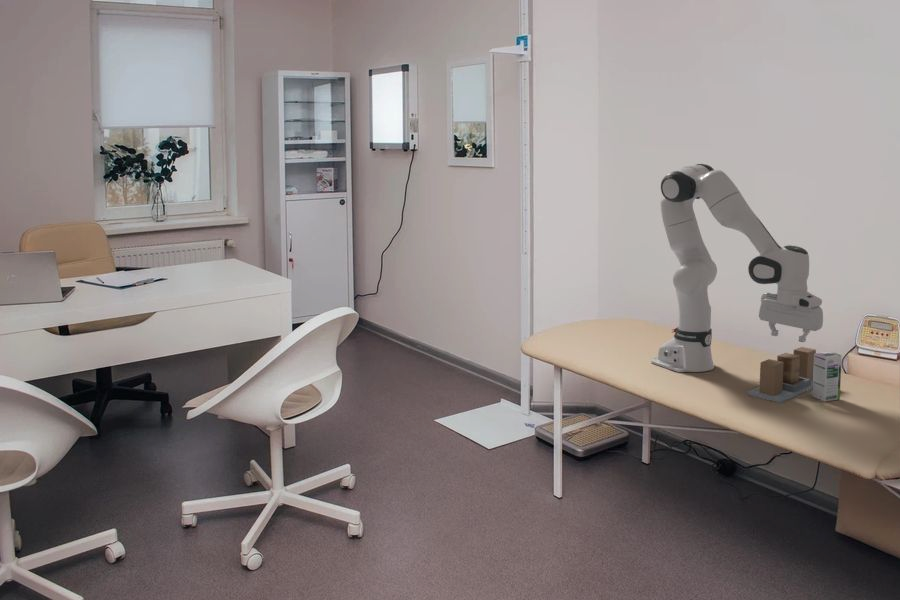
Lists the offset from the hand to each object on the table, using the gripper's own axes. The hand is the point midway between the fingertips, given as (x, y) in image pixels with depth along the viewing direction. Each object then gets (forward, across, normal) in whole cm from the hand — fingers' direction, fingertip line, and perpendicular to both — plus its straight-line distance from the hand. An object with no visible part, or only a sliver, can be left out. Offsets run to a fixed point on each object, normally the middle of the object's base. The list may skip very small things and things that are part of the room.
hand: (788, 338), depth 268 cm
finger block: (+16, +1, 0) cm, 16 cm away
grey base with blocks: (+17, +1, 0) cm, 17 cm away
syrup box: (+17, +14, 0) cm, 22 cm away
